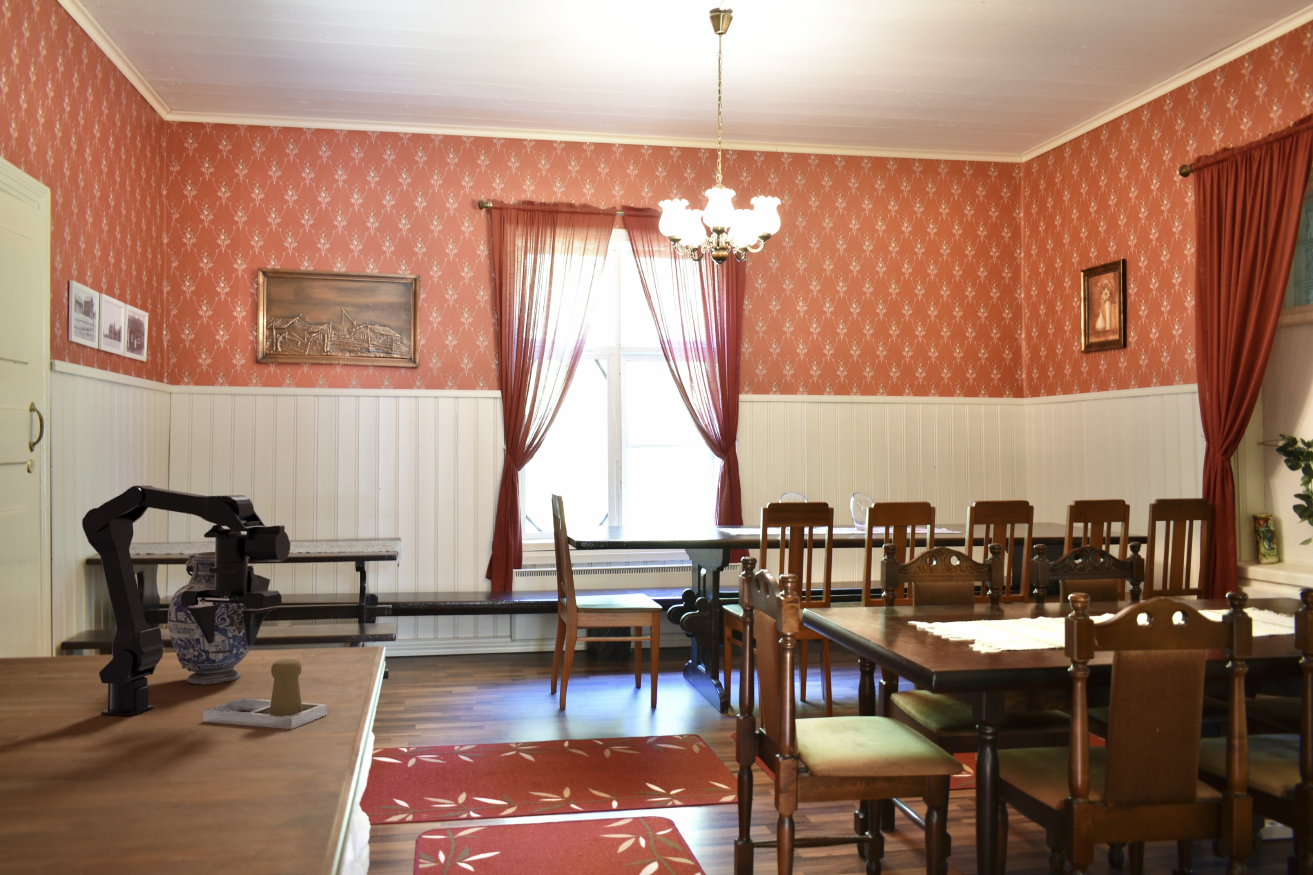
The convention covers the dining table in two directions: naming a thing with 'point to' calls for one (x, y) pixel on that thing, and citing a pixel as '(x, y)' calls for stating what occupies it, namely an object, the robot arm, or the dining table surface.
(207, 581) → the decorative vase
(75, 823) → the dining table surface
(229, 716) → the grey divided tray
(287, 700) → the cork
